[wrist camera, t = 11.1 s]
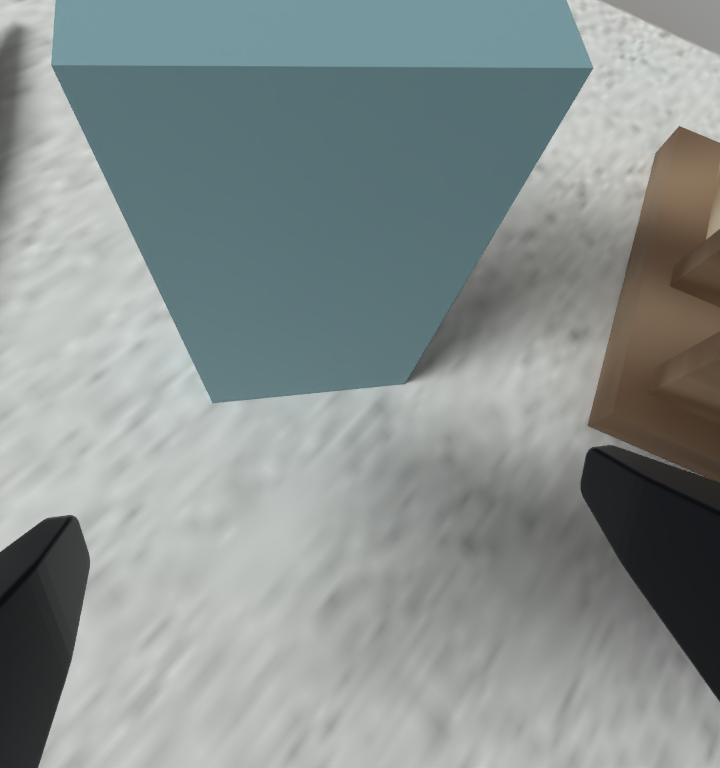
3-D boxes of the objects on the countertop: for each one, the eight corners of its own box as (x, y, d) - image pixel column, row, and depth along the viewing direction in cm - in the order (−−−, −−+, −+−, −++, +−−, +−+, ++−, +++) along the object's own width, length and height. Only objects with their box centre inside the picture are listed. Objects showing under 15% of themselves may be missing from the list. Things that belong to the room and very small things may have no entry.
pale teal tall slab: (404, 384, 18) (593, 68, 7) (212, 402, 17) (51, 65, 6) (390, 307, 19) (534, -81, 8) (208, 321, 18) (62, -109, 7)
